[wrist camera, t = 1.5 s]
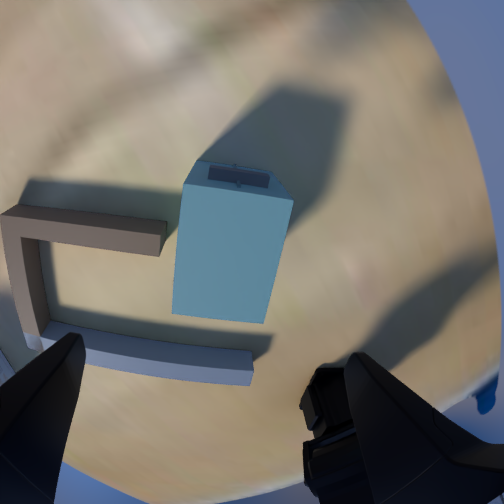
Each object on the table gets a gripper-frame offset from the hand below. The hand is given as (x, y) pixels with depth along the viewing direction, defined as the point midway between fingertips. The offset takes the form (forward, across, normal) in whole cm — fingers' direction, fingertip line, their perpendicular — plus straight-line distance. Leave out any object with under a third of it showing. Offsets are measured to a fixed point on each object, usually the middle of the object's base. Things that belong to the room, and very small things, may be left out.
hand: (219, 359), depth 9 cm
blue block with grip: (+13, -1, 0) cm, 13 cm away
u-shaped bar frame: (+13, +6, +7) cm, 16 cm away
